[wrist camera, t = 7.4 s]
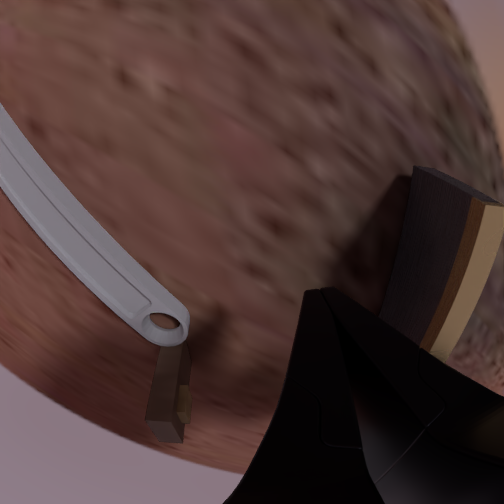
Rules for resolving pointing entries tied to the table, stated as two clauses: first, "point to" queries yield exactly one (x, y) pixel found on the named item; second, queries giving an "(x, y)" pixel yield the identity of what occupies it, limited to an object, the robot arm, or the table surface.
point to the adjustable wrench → (84, 240)
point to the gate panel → (441, 260)
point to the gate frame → (170, 394)
